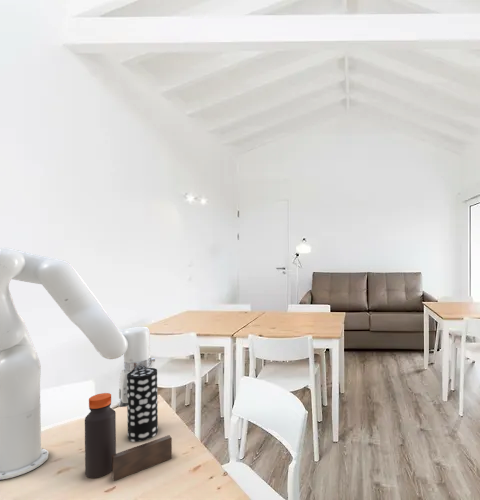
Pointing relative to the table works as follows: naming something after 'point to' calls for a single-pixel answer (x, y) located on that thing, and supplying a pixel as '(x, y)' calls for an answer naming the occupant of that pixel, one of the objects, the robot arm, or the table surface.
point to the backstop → (141, 457)
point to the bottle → (99, 436)
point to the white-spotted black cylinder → (142, 404)
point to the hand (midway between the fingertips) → (138, 419)
